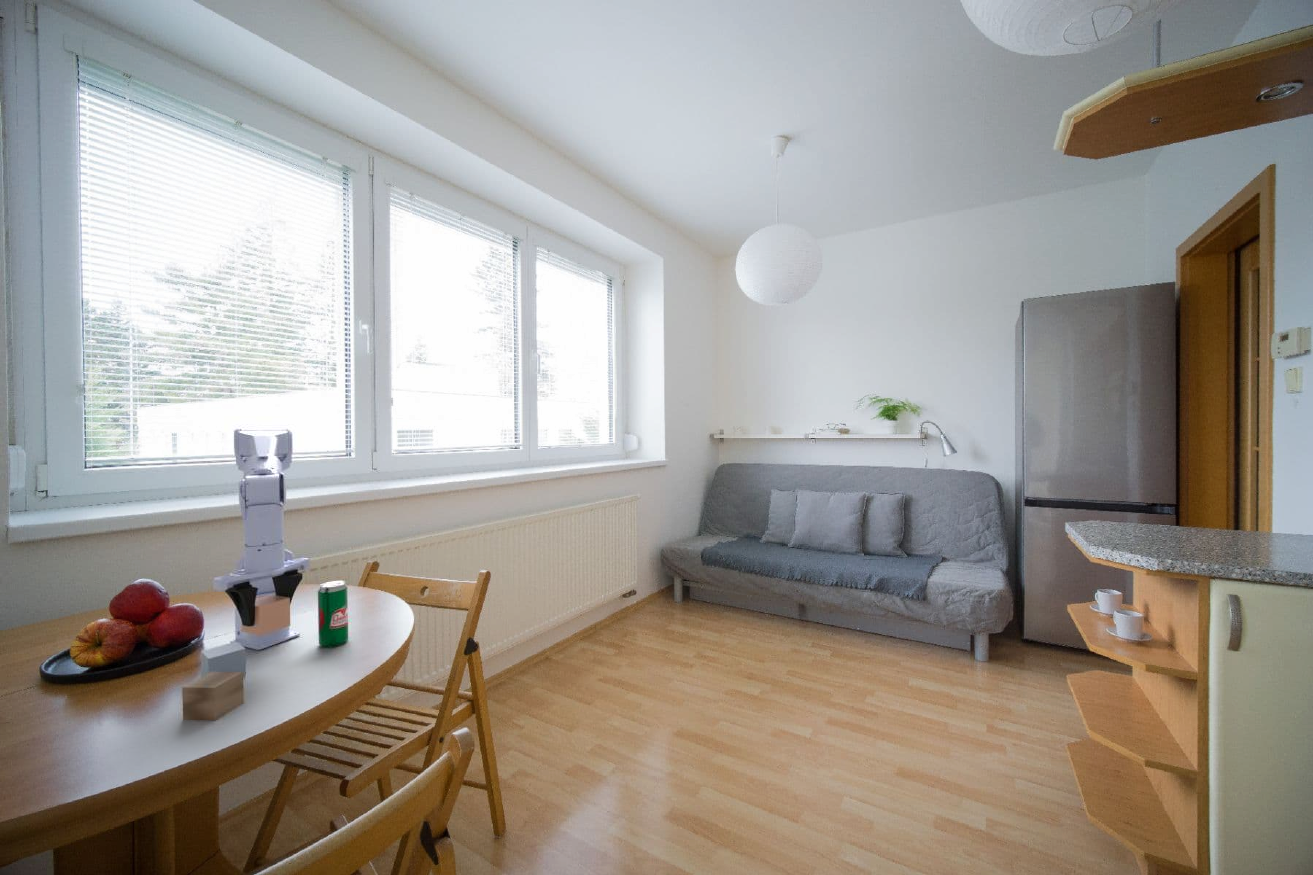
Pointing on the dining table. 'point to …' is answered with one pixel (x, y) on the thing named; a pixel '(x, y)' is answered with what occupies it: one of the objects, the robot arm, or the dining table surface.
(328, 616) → the soda can
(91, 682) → the dining table surface
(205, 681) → the walnut block
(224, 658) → the slate blue block
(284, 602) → the terracotta block
